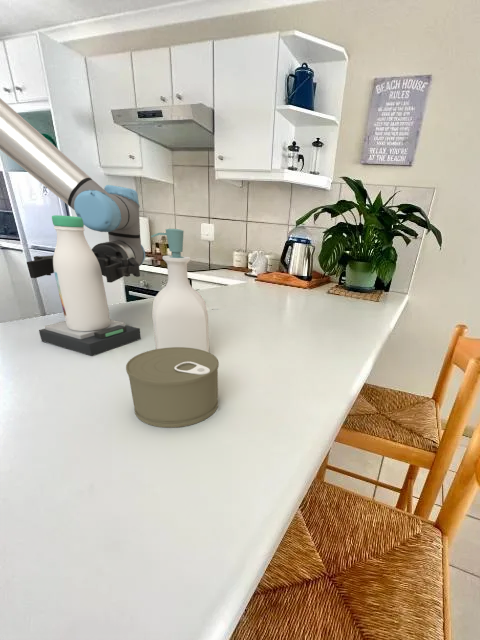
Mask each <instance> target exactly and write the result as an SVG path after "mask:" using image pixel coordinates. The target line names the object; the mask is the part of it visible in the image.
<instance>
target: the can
mask: <svg viewBox="0 0 480 640" xmlns="http://www.w3.org/2000/svg"><path fill="white" fill-rule="evenodd" d="M219 364H220V363H219V359H218V358H217V356H216V355H215V354H213V353H211V352H210V351H209V352H206V351H204V350H200V349H195V348H186V347H170V348H161V349H156V348H155V349H151V350H147V351H143V352H141V353H139V354H137V355H135V356H133V357H131V358H130V359H129V360H128V362H127V363H126V365H125V371H126V374H127V376H128V380H129V386H130V391H131V397H132V402H133V408H134V414H135V416H136V418H137V419H138V420H139V421H141V422H143V423H144V424H147V425H149V426H153V427H158V428H169V429H171V428H183V427H189V426H192V425H195V424H199V423H201V422H202V421H205V420H207V419H209V418H210V417H211V416H212V415H214V414H215V412H216V411H217V410H218V408H219V407H218V406H219V398H218V397H219V382H218V381H219V379H218V378H219V377H218V376H219V375H218V374H219V373H218V372H219V368H220V367H219V366H220V365H219Z"/></svg>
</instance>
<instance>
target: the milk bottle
mask: <svg viewBox="0 0 480 640" xmlns="http://www.w3.org/2000/svg"><path fill="white" fill-rule="evenodd" d="M51 220H52V225H53V229H54V230H55V232H56V243H55V248H54V252H53V255H54V256H53V268H54V273H53V274H54V278H55V282H56V286H57V291H58V295H59V300H60V303H61V307H62V311H63V315H64V319H65V320H64V321H66V324H67V326H68V328H69V329H71V330H76V331H94V330H100V329H104V328H106V327H108V326H109V325H110V320H111V316H110V311H109V305H108V300H107V294H106V288H105V283H104V278H103V277H104V276H103V275H102V273H101V268H100V265H99V262H98V260H97V258H96V256H95V254H94V253H93V251H92V248H91V247H90V244H89V243H88V240H87V239H86V237H85V233H84V231H85V228H84V227H85V225H84V224H83V220H82V218H81V217H77V216H74V215H59V214H58V215H57V214H56V215H55V214H54V215H52V216H51Z"/></svg>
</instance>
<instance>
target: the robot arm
mask: <svg viewBox="0 0 480 640" xmlns="http://www.w3.org/2000/svg"><path fill="white" fill-rule="evenodd" d="M0 151H1V152H3V153H4V155H6V156H7V157H9V158H10V159H11V160H12V161H14V163H16V164H17V165H18V166H20V167H21V168H22V169H23V170H25V172H27V173H28V174H29V175H30V176H32V177H33V178H34V179H35V180H37V181H38V182H39V183H40V184H42V185H43V186H44V187H45V188H46V189H48V190H49V191H50V192H51V193H53V194H54V195H55V196H56V197H57V198H59V199H60V200H61V201H63V203H65V204H66V205H67V206H69V208H71V209H72V210H73V211H74V212H75V215H76V217H81V218H82V220H83V224H84V227H86V228H87V229H89V230H91V231H95V232H100V233H107V234H108V241H105V242H99V243H97V244H95V245H94V246H93V247H92V248H91V250H92V251H93V253H94V254H95V256H96V258H97V260H98V262H99V265H100V268H101V273H102V277H106V283H114V282H116V281H117V280H120V279H122V278H123V277H126V278H128V277H131V275H132V276H133V277H136V278H139V277H141V270H140V267H141V266H142V264H143V263H144V262H145V260H146V251H145V248H144V246H143V244H142V239H141V223H140V202H139V194H138V192H137V191H136V189H133V188H129V187H124V186H117V185H113V184H106V185H105V186H104V187H102V186H101V185H100V184H98V183H97V182H96V181H95V180H93V179H92V177H91V176H89V175H88V174H87V172H85V171H84V170H83V169H81V168H80V167H79V165H77V164H76V163H75V162H73V161H72V160H71V159H70V158H69V157H68V156H66V154H64V153H63V151H61V150H60V149H59V148H58V147H56V145H54V144H53V143H52V142H51V141H50V140H48V138H46V137H45V136H44V135H43V134H42V133H41V132H40V131H38V130H37V129H36V128H35V127H34V126H32V124H30V122H28V121H27V120H26V119H25V118H24V117H22V116H21V115H20V114H19V113H18V112H17V111H16V110H15V109H14V108H12V107H11V106H10V105H8V104H7V103H6V101H4V100H3V99H2V98H1V97H0ZM53 256H54V254H53V255H52V254H51V255H35V256H33V260H30V261H26V266H27V269H28V273H29V276H30V279H37V278H41V277H45V276H52V274H55V273H54V268H53Z"/></svg>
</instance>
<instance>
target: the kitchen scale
mask: <svg viewBox="0 0 480 640" xmlns="http://www.w3.org/2000/svg"><path fill="white" fill-rule="evenodd" d="M38 333H39V336H40V339H41V342H43V343H46V344H50V345H53V346H57V347H60V348H64V349H67V350H70V351H74V352H77V353H79V354H83V355H87V356H90V357H93V356H96V355H99V354H102V353H104V352H107V351H111V350H113V349H116V348H119V347H122V346H125V345H128V344H130V343H133V342H136V341H139V340H141V339H142V335H141V329H140V328H139V327H135V326H130V325H127V324H126V323H125V322H122V321H119V320H114V319H110V325H109V326H108V327H106V328H104V329H100V330H94V331H76V330H71V329H69V328H68V326H67V324H66V320H64V321H59V322H54V323H51V324H46V325H44V328H42V329H41V328H40V329H38Z"/></svg>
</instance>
